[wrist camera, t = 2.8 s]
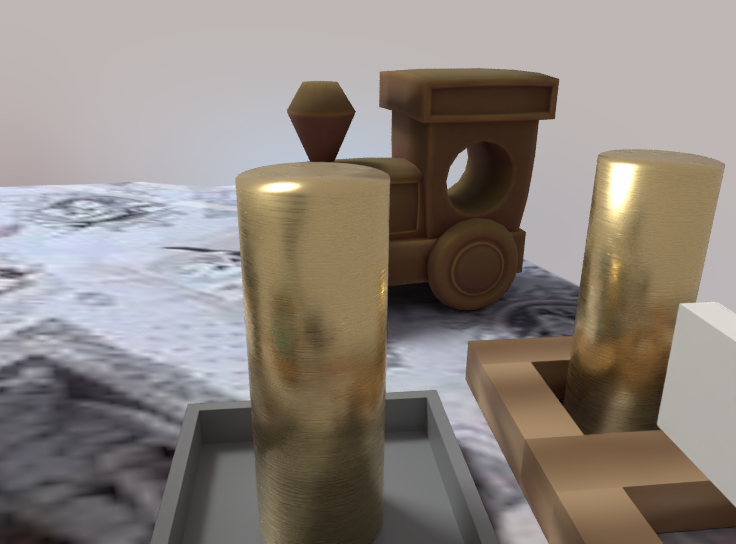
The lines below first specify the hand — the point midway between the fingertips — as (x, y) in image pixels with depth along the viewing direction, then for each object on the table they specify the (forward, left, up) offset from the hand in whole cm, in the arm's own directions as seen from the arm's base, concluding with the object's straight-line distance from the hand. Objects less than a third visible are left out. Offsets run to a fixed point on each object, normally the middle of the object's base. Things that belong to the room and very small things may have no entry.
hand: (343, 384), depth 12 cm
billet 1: (-7, +8, -12) cm, 16 cm away
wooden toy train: (-17, +30, -13) cm, 37 cm away
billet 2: (+2, +21, -13) cm, 25 cm away
